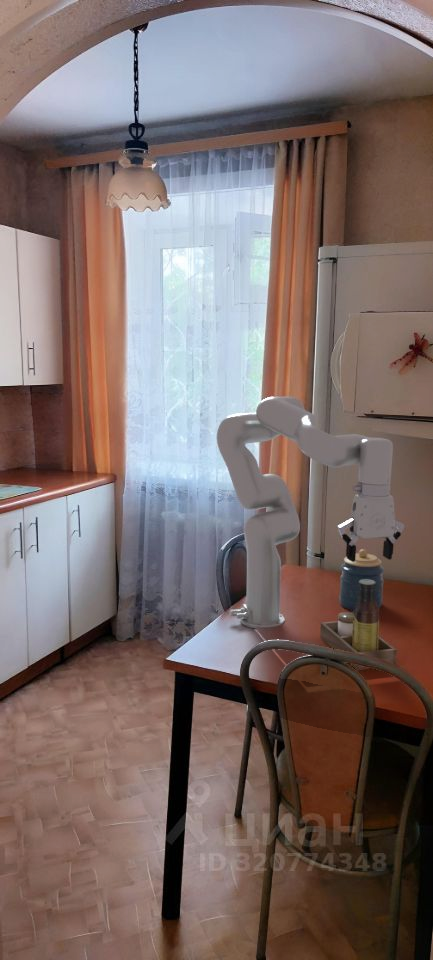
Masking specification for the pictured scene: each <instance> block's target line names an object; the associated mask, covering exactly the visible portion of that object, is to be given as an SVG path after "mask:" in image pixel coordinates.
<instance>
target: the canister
mask: <svg viewBox="0 0 433 960" xmlns="http://www.w3.org/2000/svg"><path fill="white" fill-rule="evenodd" d="M343 561H344V563H342V564H341V565H340V569H341V571H342V572H341V575H340V577H339V578H340V590H339V591H340V592H339V597H338V600H339V605H341V606H342V607H343V608H345V609H347V610H351V611H354V608H355V606H356V603H357V601H358V598H359V581H360V580H362V579H370V580H373V581H375V582H376V587H375V599H374V600H375V602H376V603H377V605H378V608H379V610H380V609H381V608H382V605H383V600H384V599H383V589H384V588H383V587H384V586H383V585H384V582H385V581H384V578H383V573H384V572H385V569H384V567H383V566H382V560H381V559H379V558H378V557H377V555H375V554H371V553H368V551H367V550H366V549H364V548H362V549H359V551H358V553H357V552H356V557H355V561H354V562H352V561H350V560H349V559H347V556H345V557H344V558H343Z"/></svg>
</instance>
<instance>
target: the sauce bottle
mask: <svg viewBox="0 0 433 960" xmlns="http://www.w3.org/2000/svg"><path fill="white" fill-rule="evenodd" d="M375 587H376V582H375V581H373V580H370V579H362V580H360V581H359V598H358V601H357V603H356V606H355V608H354V610H352V613H353V639H352V647H353V648H354V649H355V650H356V651H357V652H367V651H376V650H378V639H379V634H380V632H379V629H380V609H379V608H378V605H377V603H376V602H375V600H374V599H375Z"/></svg>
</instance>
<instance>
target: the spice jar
mask: <svg viewBox="0 0 433 960" xmlns="http://www.w3.org/2000/svg"><path fill="white" fill-rule="evenodd" d="M337 621H338V635H339V636H340V637H341V636H351V635H353V612H351V611H349V612H348V611H343V612H339V613H338V614H337Z"/></svg>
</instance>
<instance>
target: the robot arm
mask: <svg viewBox="0 0 433 960" xmlns="http://www.w3.org/2000/svg"><path fill="white" fill-rule="evenodd" d="M316 417H317V416H315V414H314V413H312V412H309V411H308V410H306V408H305V406H304V403H303V402H302V401H301V400H299V398H297V397H294V396H270V397H267V398H266V397H265V399H263V400H261V401H260V402H259V403H258V405H257V406H256V410H255V412H245V413H244V412H243V413H235V414H231V415H227V416H226V417H225V418H224V419H222V421H221V422H220V424H219V426H218V428H217V433H216V442H217V443H216V445H217V447H218V450H219V452H220V456H221V457H222V458H223V459H222V460H223V461H224V463H225V465H226V468H227V470H228V472H229V473H228V474H229V476H230V479H231V482H232V485H233V488H234V491H235V495H236V497H237V499H238V503H239V505H240V506H241V507H242V508H243V509H244V510H247V511H257V510H262V509H265V508H266V510H267V511H264V512H260V513H257V514H254V515H252V516H251V517H249V518H248V519H247V520H246V521H245V524H244V527H243V535H244V541H245V546H246V594H245V595H246V601H245V604H244V603H243V604H242V607H240V608H239V609H237V608H236V609H230V610H229V613H228V614H229V616H230V617H231V618H232V617H236V619H240V623H241V624H242V625H244V626H245V627H248V628H250V629H255V630H257V628H259V629H261V628H263V629H266V628H275V627H279V626H282V625H283V624H285V619H286V618H285V616H283V614H281V613H280V610H281V609H280V607H281V605H280V603H281V576H282V575H281V574H282V572H281V571H282V569H281V568H282V561H281V557H280V554H279V551H278V549H277V545H280V544H283V543H288V542H290V541H292V540H293V541H294V540H295V538H297V537H298V536H299V533H300V530H301V522H300V518H299V514H298V513H297V512H298V511H297V509H296V506H295V503H294V501H293V498H292V495H291V492H290V489H289V487H288V485H287V483H286V482H285V480H284V479H283V478H282V476H281V477H280V475H278V474H274V473H265V474H263V473H262V472H261V469H260V467H259V464H258V461H257V459H256V457H255V455H254V454H253V453H252V451H251V450H250V449H248V447H246V445H247V444H255V443H264V442H267V441H271V440H273V439H275V438H278V437H279V436H283V437H285V438H287V439H289V440H290V441H291V442H294V443H296V444H297V447H298V448H299V450H300V451H301V452H302V454H304V455H305V456H307V457H308V458H310V459H312V460H314V461H316V462H318V463H319V464H322V465H323V466H327V467H330V468H341V467H346V466H355V465H358V479H357V482H356V485H353V486H352V491H353V492H356V493H357V494H355V495H354V497H353V501H352V505H351V511H350V515H349V519H348V520H346V521H345V522H343V523H341V524H339V525H337V531H338V533H339V535H340V537H341V539H342V540H343V541H344V542H345V543H346V547H345V548H346V549H345V557H347V559H349V560H350V561H352V562H354V561H355V557H356V553H357V545H355V544H356V542H357V541H358V540H359V539H385V540H383V546H382V547H383V549H382V557H384V558H385V559H387V560H390V561H391V560H392V559H393V554H394V544H395V543H396V542H397V540H398V539H399V538H400V537H401V535H402V532H403V531H404V529H405V527H406V526H405V524H404V523H402V522H400V521H398V520H396V513H395V511H396V509H395V500H394V496H393V495H390V494H391V480H392V479H391V478H392V465H393V453H394V443H393V442H392V440H390V439H388V438H384V437H369V436H366V435H362V434H357V433H351V434H339V435H334V434H330V433H327V432H326V431H323V430H321V429H319V428H317V427H318V420H317V418H316ZM347 529H349V534H347V532H346V530H347Z"/></svg>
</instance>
